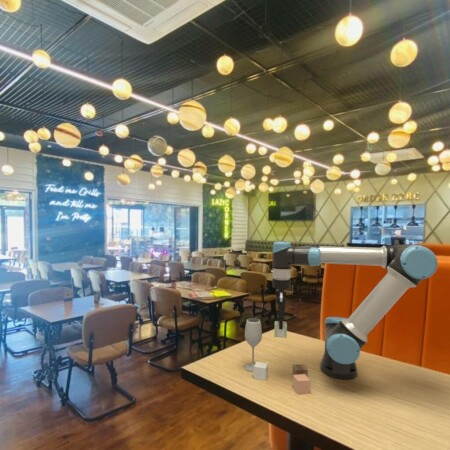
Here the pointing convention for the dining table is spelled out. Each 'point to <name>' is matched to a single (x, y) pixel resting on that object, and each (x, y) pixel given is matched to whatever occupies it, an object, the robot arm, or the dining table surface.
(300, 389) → the terracotta cube
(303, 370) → the walnut cube
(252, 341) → the wineglass
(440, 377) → the dining table surface
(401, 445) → the dining table surface
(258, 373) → the white cube
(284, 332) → the sage cube
